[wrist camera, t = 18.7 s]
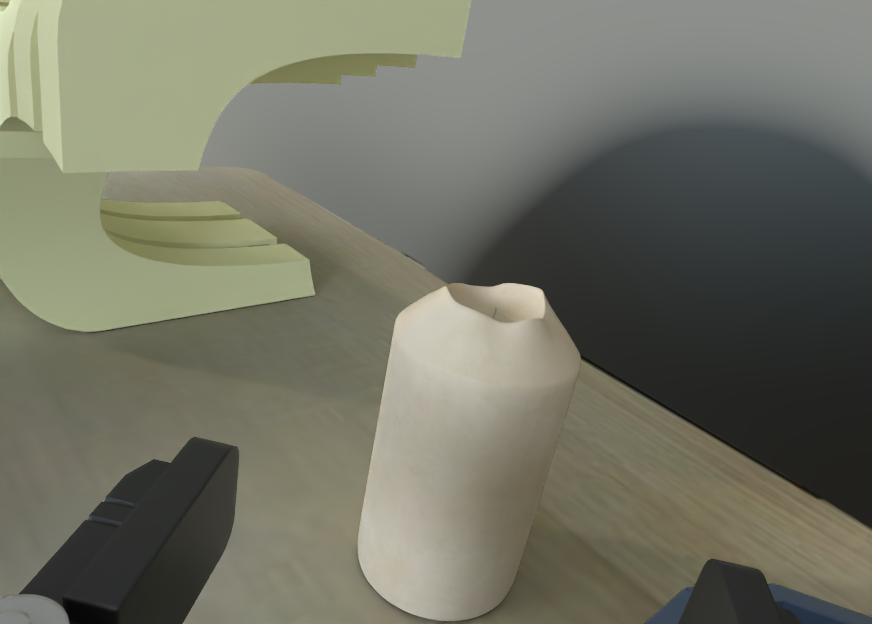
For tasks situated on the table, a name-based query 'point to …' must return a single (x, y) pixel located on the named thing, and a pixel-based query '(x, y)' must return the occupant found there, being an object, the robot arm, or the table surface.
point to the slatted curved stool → (163, 141)
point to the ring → (815, 615)
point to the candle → (463, 446)
